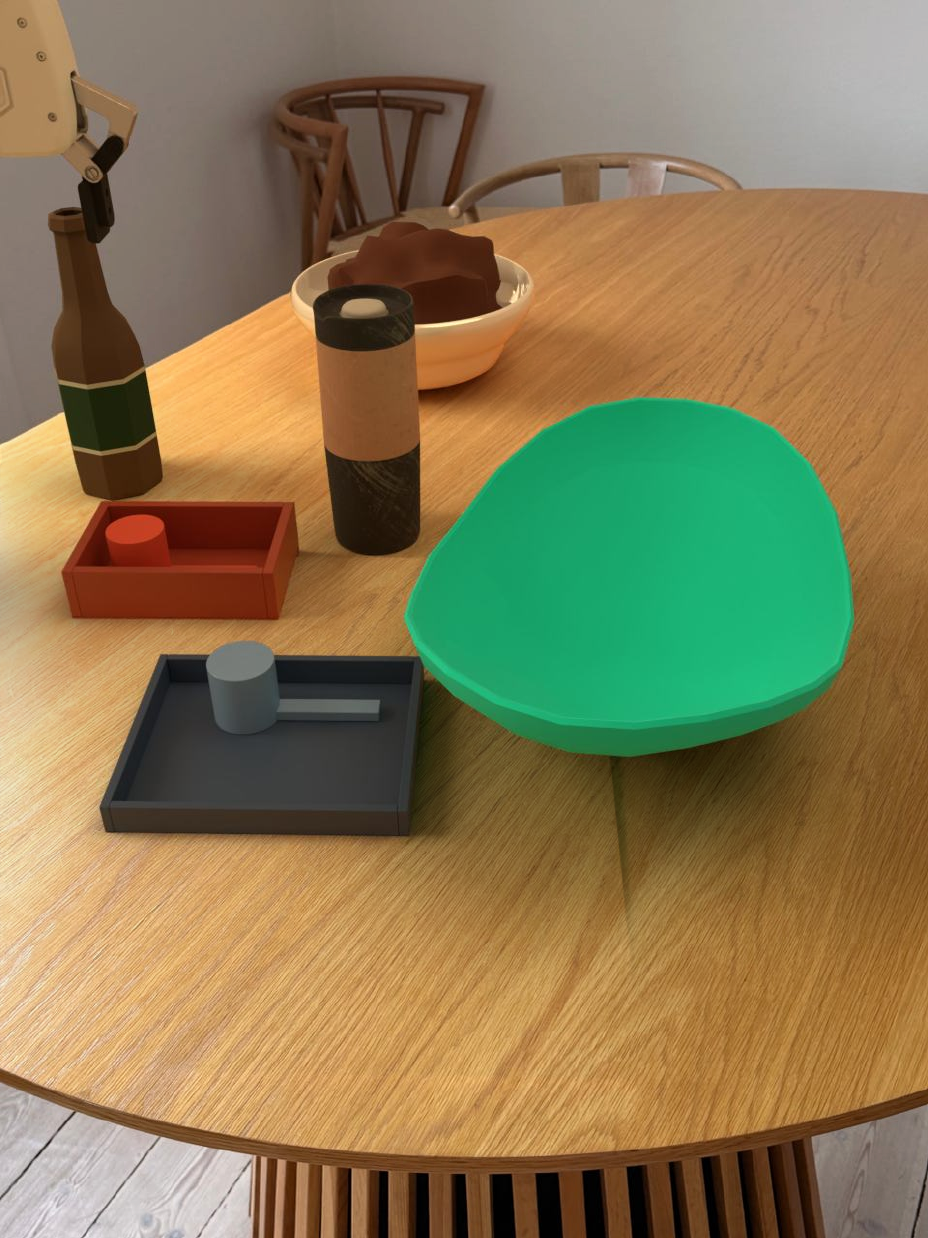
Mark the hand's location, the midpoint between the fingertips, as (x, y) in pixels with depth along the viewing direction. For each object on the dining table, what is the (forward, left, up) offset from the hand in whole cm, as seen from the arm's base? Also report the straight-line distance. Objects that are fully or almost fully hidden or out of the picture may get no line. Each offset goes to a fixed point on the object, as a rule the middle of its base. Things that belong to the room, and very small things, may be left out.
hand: (30, 237), depth 83 cm
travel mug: (+22, +5, -26) cm, 35 cm away
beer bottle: (-2, +14, -26) cm, 30 cm away
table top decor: (+41, -16, -26) cm, 51 cm away
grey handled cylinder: (+19, -19, -26) cm, 37 cm away
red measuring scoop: (+8, -3, -26) cm, 27 cm away
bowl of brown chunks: (+23, +39, -26) cm, 52 cm away
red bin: (+8, -3, -26) cm, 28 cm away
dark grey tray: (+18, -23, -26) cm, 39 cm away
